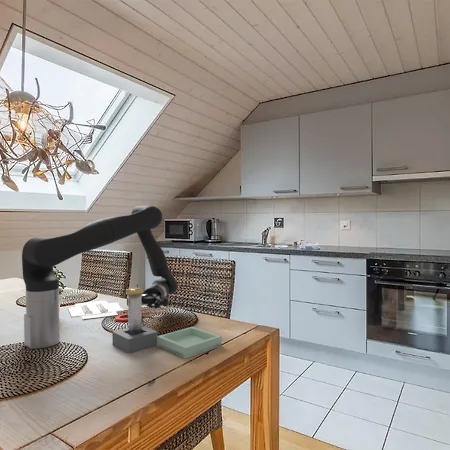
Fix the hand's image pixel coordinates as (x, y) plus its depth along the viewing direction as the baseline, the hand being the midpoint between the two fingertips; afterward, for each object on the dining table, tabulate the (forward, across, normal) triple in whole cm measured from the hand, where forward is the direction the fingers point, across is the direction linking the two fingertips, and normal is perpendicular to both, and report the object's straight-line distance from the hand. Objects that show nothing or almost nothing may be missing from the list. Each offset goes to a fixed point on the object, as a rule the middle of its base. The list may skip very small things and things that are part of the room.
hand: (142, 305), depth 120 cm
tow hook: (-19, -11, +10) cm, 24 cm away
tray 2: (-32, -30, +11) cm, 45 cm away
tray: (+9, +17, +10) cm, 22 cm away
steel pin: (+9, 0, +10) cm, 13 cm away
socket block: (+9, 0, +10) cm, 13 cm away
